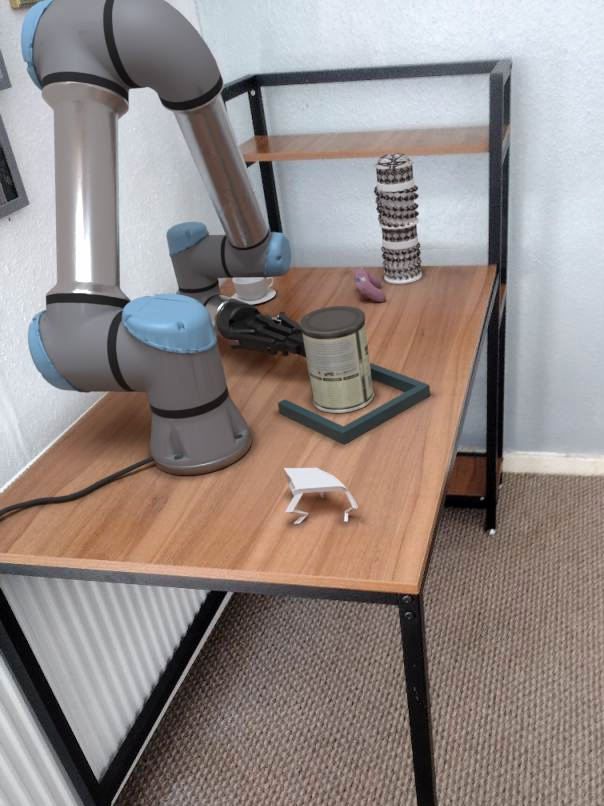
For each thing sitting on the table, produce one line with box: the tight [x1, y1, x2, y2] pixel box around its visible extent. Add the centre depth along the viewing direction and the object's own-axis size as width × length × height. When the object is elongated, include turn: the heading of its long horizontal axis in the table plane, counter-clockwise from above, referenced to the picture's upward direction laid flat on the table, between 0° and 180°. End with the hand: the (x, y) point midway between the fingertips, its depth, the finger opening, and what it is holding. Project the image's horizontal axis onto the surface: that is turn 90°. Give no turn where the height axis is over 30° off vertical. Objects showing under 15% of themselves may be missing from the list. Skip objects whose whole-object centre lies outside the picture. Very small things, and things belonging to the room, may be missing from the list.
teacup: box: [230, 277, 277, 305], centre depth 171 cm, size 10×10×5 cm
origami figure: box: [283, 467, 359, 525], centre depth 104 cm, size 12×8×5 cm
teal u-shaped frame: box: [277, 362, 431, 445], centre depth 128 cm, size 16×19×2 cm
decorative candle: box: [373, 152, 423, 285], centre depth 167 cm, size 9×9×25 cm
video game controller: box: [352, 266, 387, 303], centre depth 165 cm, size 10×5×7 cm, turn 6°
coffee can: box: [299, 305, 375, 414], centre depth 127 cm, size 10×10×14 cm
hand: (316, 351), depth 130 cm, fingers closed
